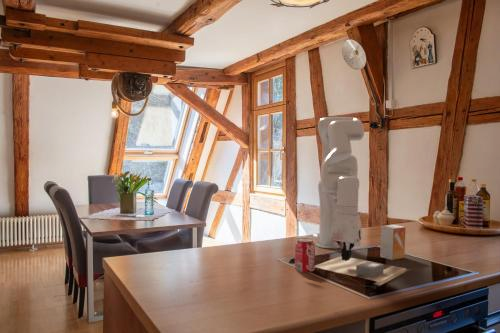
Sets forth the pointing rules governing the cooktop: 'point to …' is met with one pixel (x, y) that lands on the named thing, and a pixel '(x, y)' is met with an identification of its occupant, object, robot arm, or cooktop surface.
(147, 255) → the cooktop surface
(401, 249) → the small box
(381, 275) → the plywood panel
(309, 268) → the soda can
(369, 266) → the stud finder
